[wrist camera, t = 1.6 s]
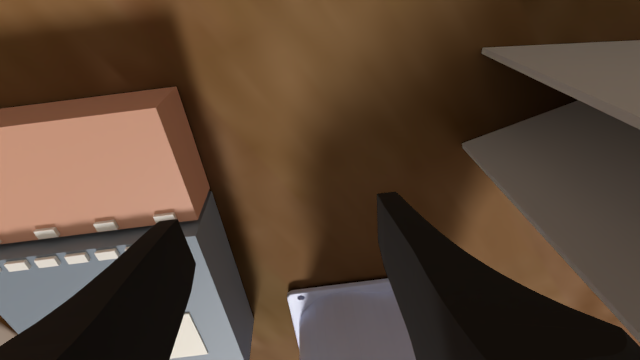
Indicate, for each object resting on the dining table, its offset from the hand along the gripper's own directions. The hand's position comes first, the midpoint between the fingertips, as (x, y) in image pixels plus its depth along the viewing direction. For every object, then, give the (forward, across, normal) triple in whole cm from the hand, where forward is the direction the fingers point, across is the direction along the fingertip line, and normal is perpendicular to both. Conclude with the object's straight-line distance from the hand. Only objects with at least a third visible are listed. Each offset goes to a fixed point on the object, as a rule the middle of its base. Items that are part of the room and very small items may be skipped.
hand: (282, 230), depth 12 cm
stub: (+8, +11, 0) cm, 14 cm away
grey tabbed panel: (+8, +11, +9) cm, 17 cm away
